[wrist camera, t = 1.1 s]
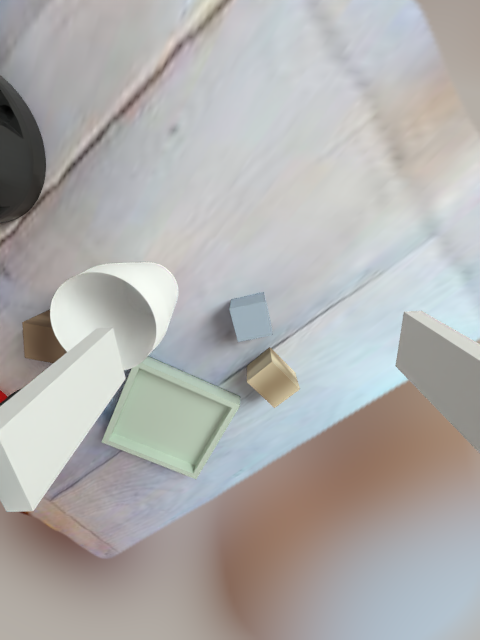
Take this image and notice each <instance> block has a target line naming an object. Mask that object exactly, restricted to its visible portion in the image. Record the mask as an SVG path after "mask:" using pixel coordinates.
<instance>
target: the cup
mask: <svg viewBox="0 0 480 640" xmlns="http://www.w3.org/2000/svg"><path fill="white" fill-rule="evenodd" d="M177 299H178V285H177V282H176V280H175V278H174V276H173V275H172V274H171V272H170V271H169V270H167V269H166V268H165V267H163V266H162V265H159V264H157V263H153V262H135V263H111V264H103V265H98V266H95V267H92V268H90V269H88V270H86V271H84V272H82V273H80V274H78V275H76V276H74V277H72V278H70V279H68V280H67V281H65V282H64V283H63V284H62V285H61V286H60V287H59V288H58V290H57V291H56V293H55V295H54V297H53V299H52V303H51V308H50V319H51V324H52V328H53V331H54V333H55V336H56V337H57V339H58V341H59V343H60V344H61V345H62V347H63V348H64V349H65V350H66V351H67V352H68V351H69V350H71V349H72V348H73V347H74V346H76V345H77V344H78V343H79V342H80V341H82V340H83V339H84V338H85V337H87V336H88V335H89V334H90V333H92V332H93V331H94V330H95V329H97V328H111V327H113V329H114V333H115V337H116V341H117V345H118V349H119V353H120V357H121V362H122V366H123V370H128V369H131V368H133V367H135V366H137V365H139V364H140V363H141V362H143V361H144V360H145V359H146V358H147V356H148V355H149V354H150V353H151V352H152V351H153V350H154V349H155V348H156V347H157V346H158V345H159V344H160V342H161V341H162V339H163V337H164V336H165V334H166V331H167V328H168V326H169V323H170V320H171V317H172V314H173V311H174V308H175V305H176V302H177Z"/></svg>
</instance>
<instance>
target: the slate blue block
mask: <svg viewBox="0 0 480 640" xmlns="http://www.w3.org/2000/svg"><path fill="white" fill-rule="evenodd" d="M229 310H230V314H231V318H232V321H233V325H234V329H235V333H236V336H237V340H238V342H241V341H246V340H251V339H255V338H260V337H265V336H270V335H273V333H272V327H271V322H270V317H269V313H268V308H267V304H266V299H265V295H264V292H262V293H257V294H253V295H248V296H244V297H240V298H235V299H231V304H230V308H229Z"/></svg>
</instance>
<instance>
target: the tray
mask: <svg viewBox="0 0 480 640" xmlns="http://www.w3.org/2000/svg"><path fill="white" fill-rule="evenodd" d="M239 407H240V396H238V395H235V394H233V393H231V392H229V391H226V390H224V389H222V388H219V387H217V386H215V385H213V384H210V383H208V382H206V381H203V380H201V379H199V378H197V377H194V376H192V375H190V374H188V373H185V372H183V371H181V370H178V369H176V368H174V367H172V366H169V365H167V364H165V363H162V362H160V361H158V360H156V359H153V358H151V357H149V356H147V358H146V359H145V360H144V361H143V362H141V363H140V364H139V365H137V366H135V367H133V368H132V369H131V371H130V374H129V376H128V379H127V381H126V383H125V386H124V388H123V391H122V393H121V396H120V398H119V401H118V403H117V405H116V408H115V410H114V413H113V415H112V418H111V420H110V423H109V425H108V427H107V430H106V432H105V435H104V437H103V440H102V443H105V444H107V445H110V446H112V447H115V448H118V449H120V450H123V451H125V452H128V453H130V454H133V455H135V456H138V457H141V458H143V459H146V460H148V461H151V462H153V463H156V464H158V465H161V466H164V467H166V468H169V469H171V470H174V471H176V472H179V473H181V474H184V475H187V476H189V477H192V478H194V479H197V477H198V475H199V474H200V472H201V470H202V469H203V467H204V465H205V464H206V462H207V460H208V459H209V457H210V455H211V454H212V452H213V450H214V448H215V447H216V445H217V443H218V442H219V440H220V438H221V437H222V435H223V433H224V432H225V430H226V428H227V427H228V425H229V423H230V422H231V420H232V418H233V417H234V415H235V413H236V412H237V410H238V408H239Z"/></svg>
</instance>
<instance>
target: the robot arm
mask: <svg viewBox="0 0 480 640" xmlns="http://www.w3.org/2000/svg"><path fill="white" fill-rule="evenodd" d="M45 171H46V158H45V150H44V145H43V141H42V137H41V134H40V131H39V128H38V126H37V123H36V121H35V119H34V117H33V115H32V113H31V111H30V110H29V108H28V106H27V105H26V103H25V102H24V100H23V99H22V98H21V96H20V95H19V94H18V93H17V91H16V90H15V89H14V88H13V87H12V86H11V85H10V84H9V83H8V82H7V81H6V80H5V79H4V78H3V77H1V76H0V223H3V222H8V221H11V220H14V219H16V218H18V217H20V216H22V215H23V214H25V213H26V212H27V211H28V210H29V209H30V208H31V207H32V206H33V205H34V203H35V202H36V200H37V199H38V197H39V195H40V193H41V190H42V187H43V184H44V179H45ZM396 367H397V368H398V369H399V370H400V371H401V372H402V373H403V374H404V375H405V376H406V377H407V378H408V379H409V380H410V381H411V383H412V384H413V385H414V386H415V387H416V388H417V389H418V390H419V391H420V392H421V393H422V394H423V395H424V396H425V397H426V398H427V399H428V400H429V401H430V402H431V403H432V404H433V405H434V406H435V407H436V408H437V410H438V411H440V413H441V414H442V415H443V416H444V417H445V418H446V419H447V420H448V421H449V422H450V423H451V424H452V425H453V426H454V427H455V428H456V429H457V430H458V431H459V432H460V433H461V434H462V435H463V437H464V438H465V439H467V441H468V442H469V443H470V444H471V445H472V446H473V447H474V448H475V449H476V450H477V451H478V452H479V453H480V344H478V343H477V342H475V341H473V340H471V339H470V338H468V337H466V336H464V335H463V334H461V333H459V332H458V331H456V330H454V329H452V328H451V327H449V326H447V325H445V324H444V323H442V322H440V321H438V320H437V319H435V318H433V317H431V316H430V315H428V314H426V313H424V312H423V311H409V312H404V315H403V321H402V328H401V334H400V341H399V347H398V354H397V360H396ZM125 379H126V378H125V374H124V370H123V366H122V362H121V357H120V353H119V349H118V345H117V341H116V337H115V333H114V329H113V327H111V328H97V329H95V330H94V331H93V332H92V333H90V334H89V335H88V336H87V337H85V338H84V339H83V340H82V341H80V342H79V343H78V344H77V345H76V346H74V347H73V348H72V349H71V350H69V351H68V352H67V353H66V354H64V355H63V356H62V357H61V358H59V359H58V360H57V361H56V362H55V363H53V364H52V365H51V366H50V367H48V368H47V369H46V370H45V371H43V372H42V373H41V374H40V375H38V376H37V377H36V378H35V379H34V380H32V381H31V382H30V383H29V384H27V385H26V386H25V387H23V388H22V389H20V390H18V391H16V392H14V393H12V394H11V395H10V396H8V397H7V398H6V399H5V400H3V401H2V402H1V403H0V500H1V502H2V504H3V506H4V508H5V510H6V512H18V511H34V509H35V508H36V506H37V505H38V503H39V502H40V501H41V499H42V498H43V496H44V495H45V493H46V492H47V491H48V489H49V488H50V486H51V485H52V483H53V482H54V480H55V479H56V478H57V476H58V475H59V473H60V472H61V470H62V469H63V468H64V466H65V465H66V463H67V462H68V460H69V459H70V458H71V456H72V455H73V453H74V452H75V450H76V449H77V448H78V446H79V445H80V443H81V442H82V440H83V439H84V438H85V436H86V435H87V433H88V432H89V430H90V429H91V428H92V426H93V425H94V423H95V422H96V420H97V419H98V418H99V416H100V415H101V413H102V412H103V410H104V409H105V408H106V406H107V405H108V403H109V402H110V400H111V399H112V398H113V396H114V395H115V393H116V392H117V390H118V389H119V387H120V386H121V385H122V383H123V382H124V380H125Z"/></svg>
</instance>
